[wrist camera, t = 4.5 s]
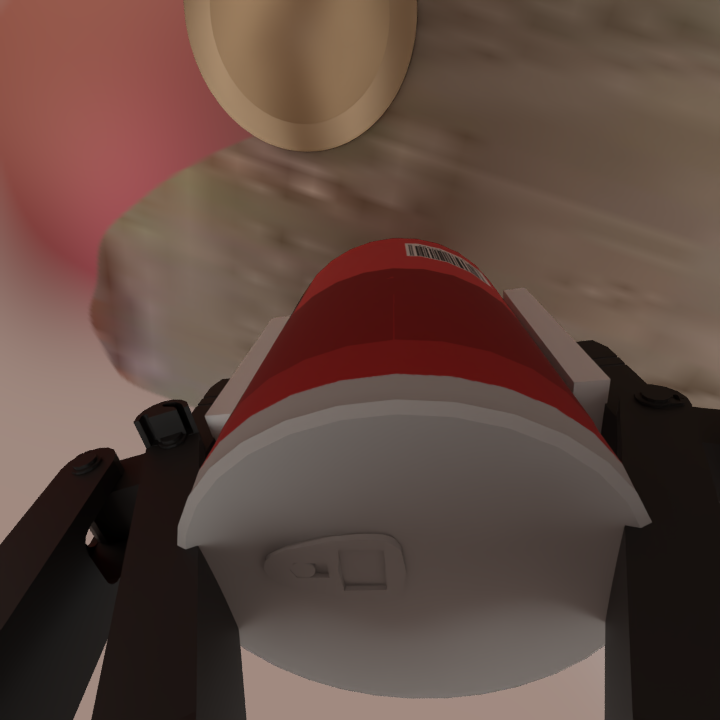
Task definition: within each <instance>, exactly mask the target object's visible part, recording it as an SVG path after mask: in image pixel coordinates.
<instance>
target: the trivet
mask: <svg viewBox="0 0 720 720" xmlns="http://www.w3.org/2000/svg"><path fill="white" fill-rule="evenodd" d="M184 11H185V21H186V27H187V32H188V37H189V41H190V44H191V48H192V51H193V54H194V58H195V60H196V63H197V65H198V67H199V70H200V72H201V74H202V77H203V78H204V80H205V82H206V84H207V86H208V87H209V89H210V91H211V92H212V94H213V95H214V97H215V98H216V100H217V101H218V103H219V104H220V105H221V106H222V107H223V109H224V110H225V111H226V112H227V113H228V114H229V115H230V117H231V118H232V119H234V120H235V121H236V122H237V123H238V124H239V125H240V126H241V127H242V128H244V129H245V130H246V131H248V132H249V133H251V134H252V135H253V136H255V137H257V138H259V139H261V140H263V141H264V142H266V143H269V144H271V145H274V146H277V147H279V148H284V149H288V150H292V151H305V152H310V151H322V150H327V149H331V148H335V147H338V146H340V145H343V144H345V143H348V142H349V141H351V140H353V139H355V138H357V137H358V136H360V135H361V134H362V133H364V132H365V131H366V130H368V129H369V128H370V127H371V126H372V125H373V124H374V123H375V122H376V121H377V120H378V119H379V118H380V117H381V116H382V115H383V113H384V112H385V111H386V110H387V108H388V107H389V106H390V104H391V102H392V101H393V99H394V97H395V96H396V94H397V92H398V91H399V88H400V86H401V84H402V82H403V80H404V77H405V75H406V72H407V69H408V66H409V63H410V59H411V55H412V51H413V46H414V41H415V34H416V25H417V0H184Z"/></svg>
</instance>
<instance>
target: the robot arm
mask: <svg viewBox="0 0 720 720" xmlns="http://www.w3.org/2000/svg"><path fill="white" fill-rule="evenodd" d="M503 300H504V301H505V303H506V304H507V305H508V307H509V308H510V309H511V311H512V312H513V313H514V315H515V316H516V318H517V319H518V320H519V322H520V323H521V324H522V326H523V327H524V328H525V330H526V331H527V332H528V334H529V335H530V336H531V338H532V339H533V340H534V342H535V343H536V345H537V346H538V347H539V349H540V350H541V351H542V353H543V354H544V355H545V357H546V358H547V359H548V361H549V362H550V363H551V365H552V366H553V368H554V369H555V370H556V372H557V373H558V374H559V376H560V377H561V378H562V380H563V381H564V382H565V384H566V385H567V386H568V388H569V389H570V391H571V392H572V393H573V395H574V396H575V397H576V399H577V400H578V401H579V403H580V404H581V405H582V407H583V408H584V409H585V411H586V412H587V413H588V415H589V416H590V418H591V419H592V420H593V422H594V424H595V426H596V427H597V429H598V431H599V432H600V434H601V435H602V436H603V438H604V439H605V441H606V442H607V443H608V445H609V446H610V447H611V449H612V450H613V452H614V453H615V454H616V456H617V457H618V459H619V460H620V461H621V463H622V464H623V466H624V468H625V470H626V472H627V474H628V476H629V478H630V480H631V482H632V484H633V486H634V488H635V490H636V492H637V493H638V495H639V497H640V499H641V501H642V503H643V505H644V507H645V509H646V511H647V513H648V515H649V517H650V519H651V521H652V523H650V524H648V525H646V526H644V527H642V528H638V527H632V526H627V525H625V527H624V531H623V535H622V539H621V544H620V548H619V553H618V557H617V562H616V567H615V572H614V577H613V582H612V587H611V592H610V598H609V603H608V609H607V615H606V620H605V720H720V410H718V409H707V408H698V407H692V404H691V403H690V401H689V400H688V398H687V397H686V396H684V395H683V394H681V393H679V392H678V391H675V390H673V389H670V388H667V387H663V386H658V385H652V384H647V383H645V382H644V381H643V380H642V379H641V378H640V377H639V376H638V375H637V374H636V373H635V372H634V371H633V370H632V369H631V368H629V367H628V366H627V365H625V363H624V362H623V361H622V360H621V359H620V358H619V357H618V358H617V355H616V354H615V353H613V352H612V351H611V350H610V349H609V348H608V347H606V346H604V345H602V344H600V343H597V342H595V341H593V340H589V341H580V342H575V341H574V340H573V338H572V337H571V336H570V335H569V334H568V333H567V332H566V331H565V330H564V329H563V328H562V327H561V326H560V325H559V323H558V322H557V321H556V320H555V319H554V318H553V317H552V316H551V315H550V314H549V313H548V312H547V311H546V309H545V308H544V307H543V306H542V305H541V304H540V303H539V302H538V301H537V300H536V299H535V298H534V297H533V296H532V294H531V293H530V292H529V291H528V290H527V289H526V288H517V289H509V290H503ZM289 318H290V316H285V317H277V318H272V319H271V320H270V322H269V323H268V325H267V326H266V327H265V329H264V330H263V332H262V333H261V335H260V336H259V338H258V339H257V341H256V342H255V343H254V345H253V346H252V348H251V349H250V351H249V352H248V354H247V355H246V357H245V358H244V359H243V361H242V362H241V364H240V365H239V367H238V368H237V370H236V371H235V372H234V374H233V375H232V377H231V378H230V379H222V380H221V381H219V382H218V383H216V384H215V385H214V386H212V387H211V388H210V389H209V390H208V392H207V393H206V395H205V396H204V399H202V400H201V401H200V403H199V404H198V406H197V407H196V408H195V409H194V411H193V412H192V413H191V411H190V409H189V406H188V404H187V402H186V401H183V400H169V401H164V402H161V403H159V404H156V405H153V406H151V407H150V408H148V409H146V410H144V411H143V412H142V413H141V414H140V415H138V416H137V417H136V419H135V421H134V424H135V426H136V428H137V430H138V432H139V434H140V436H141V438H142V440H143V442H144V445H145V447H146V453H144V454H141V455H138V456H134V457H130V458H127V459H124V460H119V458H118V456H117V454H116V453H115V451H114V449H110V448H98V449H95V450H89V451H87V452H85V453H84V454H83V453H82V454H80V455H78V456H77V457H76V458H75V459H73V460H72V461H70V462H68V464H67V465H66V466H64V467H63V468H62V469H61V470H60V472H59V473H58V474H57V475H56V476H55V478H54V479H53V480H52V481H51V483H50V484H49V485H48V486H47V488H46V489H45V490H44V491H43V493H42V494H41V495H40V497H38V499H37V500H36V501H35V502H34V504H33V505H32V506H31V507H30V509H29V510H28V511H27V512H26V514H25V515H24V516H23V517H22V518H21V520H20V521H19V522H18V523H17V525H16V526H15V527H14V528H13V530H12V531H11V532H10V533H9V535H8V536H7V537H6V538H5V540H4V541H3V542H2V543H1V544H0V720H73V718H74V716H75V714H76V711H77V709H78V707H79V704H80V702H81V700H82V697H83V695H84V693H85V690H86V688H87V686H88V683H89V681H90V679H91V676H92V674H93V672H94V669H95V667H96V665H97V662H98V660H99V658H100V655H101V653H102V650H103V648H104V646H105V644H106V641H107V645H106V650H105V655H104V660H103V665H102V670H101V675H100V680H99V685H98V690H97V695H96V700H95V705H94V709H93V714H92V719H91V720H246V709H245V697H244V685H243V673H242V661H241V649H240V637H239V629H238V626H237V624H236V621H235V619H234V617H233V615H232V612H231V610H230V608H229V605H228V603H227V601H226V599H225V597H224V595H223V593H222V590H221V588H220V586H219V584H218V582H217V580H216V578H215V576H214V574H213V572H212V570H211V568H210V567H209V565H208V563H207V561H206V559H205V557H204V555H203V553H202V552H201V550H200V548H199V546H195V547H192V548H188V549H184V548H182V547H180V546H178V545H177V536H178V524H179V521H180V519H181V516H182V513H183V510H184V507H185V504H186V502H187V499H188V496H189V495H190V493H191V491H192V489H193V486H194V483H195V480H196V477H197V475H198V472H199V469H200V468H201V466H202V464H203V463H204V461H205V459H206V458H207V456H208V454H209V453H210V451H211V449H212V448H213V446H214V444H215V442H216V441H217V439H218V437H219V434H220V432H221V430H222V428H223V427H224V425H225V423H226V422H227V420H228V418H229V417H230V415H231V413H232V412H233V410H234V408H235V407H236V405H237V403H238V402H239V400H240V398H241V397H242V395H243V394H244V392H245V390H246V389H247V387H248V385H249V384H250V382H251V380H252V379H253V377H254V375H255V374H256V372H257V370H258V369H259V367H260V365H261V364H262V362H263V360H264V359H265V357H266V356H267V354H268V352H269V351H270V349H271V347H272V346H273V344H274V342H275V341H276V339H277V337H278V336H279V334H280V332H281V331H282V329H283V327H284V326H285V324H286V322H287V321H288V319H289ZM88 529H90V531H91V532H92V534H93V535H94V537H93V539H92V541H91V543H90V544H89V545H86V544H85V541H86V535H87V532H88ZM107 639H108V640H107Z"/></svg>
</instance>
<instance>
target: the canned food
mask: <svg viewBox="0 0 720 720" xmlns="http://www.w3.org/2000/svg"><path fill="white" fill-rule="evenodd" d="M650 523H652V521H651V519H650V517H649V515H648V513H647V511H646V509H645V507H644V505H643V503H642V501H641V499H640V497H639V495H638V493H637V492H636V490H635V488H634V486H633V484H632V482H631V480H630V478H629V476H628V474H627V472H626V470H625V468H624V466H623V464H622V463H621V461H620V460H619V459H618V457H617V456H616V454H615V453H614V452H613V450H612V449H611V447H610V446H609V445H608V443H607V442H606V441H605V439H604V438H603V436H602V435H601V434H600V432H599V431H598V429H597V427H596V426H595V424H594V422H593V420H592V419H591V418H590V416H589V415H588V413H587V412H586V411H585V409H584V408H583V407H582V405H581V404H580V403H579V401H578V400H577V399H576V397H575V396H574V395H573V393H572V392H571V391H570V389H569V388H568V386H567V385H566V384H565V382H564V381H563V380H562V378H561V377H560V376H559V374H558V373H557V372H556V370H555V369H554V368H553V366H552V365H551V363H550V362H549V361H548V359H547V358H546V357H545V355H544V354H543V353H542V351H541V350H540V349H539V347H538V346H537V345H536V343H535V342H534V340H533V339H532V338H531V336H530V335H529V334H528V332H527V331H526V330H525V328H524V327H523V326H522V324H521V323H520V322H519V320H518V319H517V318H516V316H515V315H514V313H513V312H512V311H511V309H510V308H509V307H508V305H507V304H506V303H505V301H504V300H503V299H502V297H501V296H500V295H499V293H498V292H497V290H496V289H495V288H494V286H493V285H492V284H491V282H490V281H489V280H488V279H487V278H486V276H485V275H484V274H483V273H482V272H481V271H480V270H479V269H478V267H477V266H476V265H475V264H473V263H472V262H470V261H469V260H468V259H466V258H465V257H464V256H462V255H461V254H459V253H458V252H456V251H453V250H451V249H449V248H447V247H444V246H442V245H440V244H437V243H433V242H428V241H424V240H419V239H403V238H392V239H386V240H380V241H374V242H369V243H367V244H364V245H361V246H359V247H356V248H353V249H351V250H349V251H347V252H345V253H344V254H342V255H341V256H339V257H337V258H336V259H334V260H332V261H331V262H330V263H329V264H328V265H327V266H326V267H325V268H324V269H323V270H321V271H320V272H319V273H318V274H317V275H316V277H315V278H314V280H313V281H312V282H311V284H310V285H309V287H308V288H307V290H306V291H305V293H304V294H303V296H302V298H301V299H300V301H299V303H298V304H297V306H296V308H295V309H294V311H293V313H292V314H291V316H290V318H289V319H288V321H287V322H286V324H285V326H284V327H283V329H282V331H281V332H280V334H279V336H278V337H277V339H276V341H275V342H274V344H273V346H272V347H271V349H270V351H269V352H268V354H267V356H266V357H265V359H264V360H263V362H262V364H261V365H260V367H259V369H258V370H257V372H256V374H255V375H254V377H253V379H252V380H251V382H250V384H249V385H248V387H247V389H246V390H245V392H244V394H243V395H242V397H241V398H240V400H239V402H238V403H237V405H236V407H235V408H234V410H233V412H232V413H231V415H230V417H229V418H228V420H227V422H226V423H225V425H224V427H223V428H222V430H221V432H220V434H219V437H218V439H217V441H216V442H215V444H214V446H213V448H212V449H211V451H210V453H209V454H208V456H207V458H206V459H205V461H204V463H203V464H202V466H201V468H200V469H199V472H198V475H197V477H196V480H195V483H194V486H193V489H192V491H191V493H190V495H189V496H188V499H187V502H186V504H185V507H184V510H183V513H182V516H181V519H180V521H179V524H178V536H177V545H178V546H180V547H182V548H184V549H188V548H192V547H195V546H199V548H200V550H201V552H202V553H203V555H204V557H205V559H206V561H207V563H208V565H209V567H210V568H211V570H212V572H213V574H214V576H215V578H216V580H217V582H218V584H219V586H220V588H221V590H222V593H223V595H224V597H225V599H226V601H227V603H228V605H229V608H230V610H231V612H232V615H233V617H234V619H235V621H236V624H237V626H238V629H239V637H240V646H242V647H243V648H244V649H246V650H248V651H250V652H251V653H253V654H255V655H257V656H259V657H260V658H262V659H264V660H266V661H267V662H269V663H271V664H273V665H275V666H277V667H279V668H281V669H284V670H286V671H289V672H291V673H294V674H296V675H298V676H301V677H303V678H306V679H308V680H312V681H315V682H319V683H322V684H325V685H329V686H332V687H336V688H339V689H344V690H349V691H354V692H360V693H365V694H371V695H378V696H389V697H400V698H452V697H462V696H471V695H481V694H486V693H490V692H496V691H500V690H505V689H509V688H514V687H518V686H521V685H524V684H527V683H530V682H533V681H536V680H539V679H542V678H545V677H548V676H551V675H553V674H556V673H558V672H560V671H562V670H564V669H566V668H568V667H570V666H572V665H574V664H576V663H578V662H580V661H582V660H584V659H586V658H588V657H589V656H590V655H592V654H593V653H595V652H596V651H598V650H599V649H601V648H602V647H603V646H605V620H606V615H607V609H608V603H609V598H610V592H611V587H612V582H613V577H614V572H615V567H616V562H617V557H618V553H619V548H620V544H621V539H622V535H623V531H624V527H625V525H627V526H632V527H638V528H642V527H644V526H646V525H648V524H650Z"/></svg>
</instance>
